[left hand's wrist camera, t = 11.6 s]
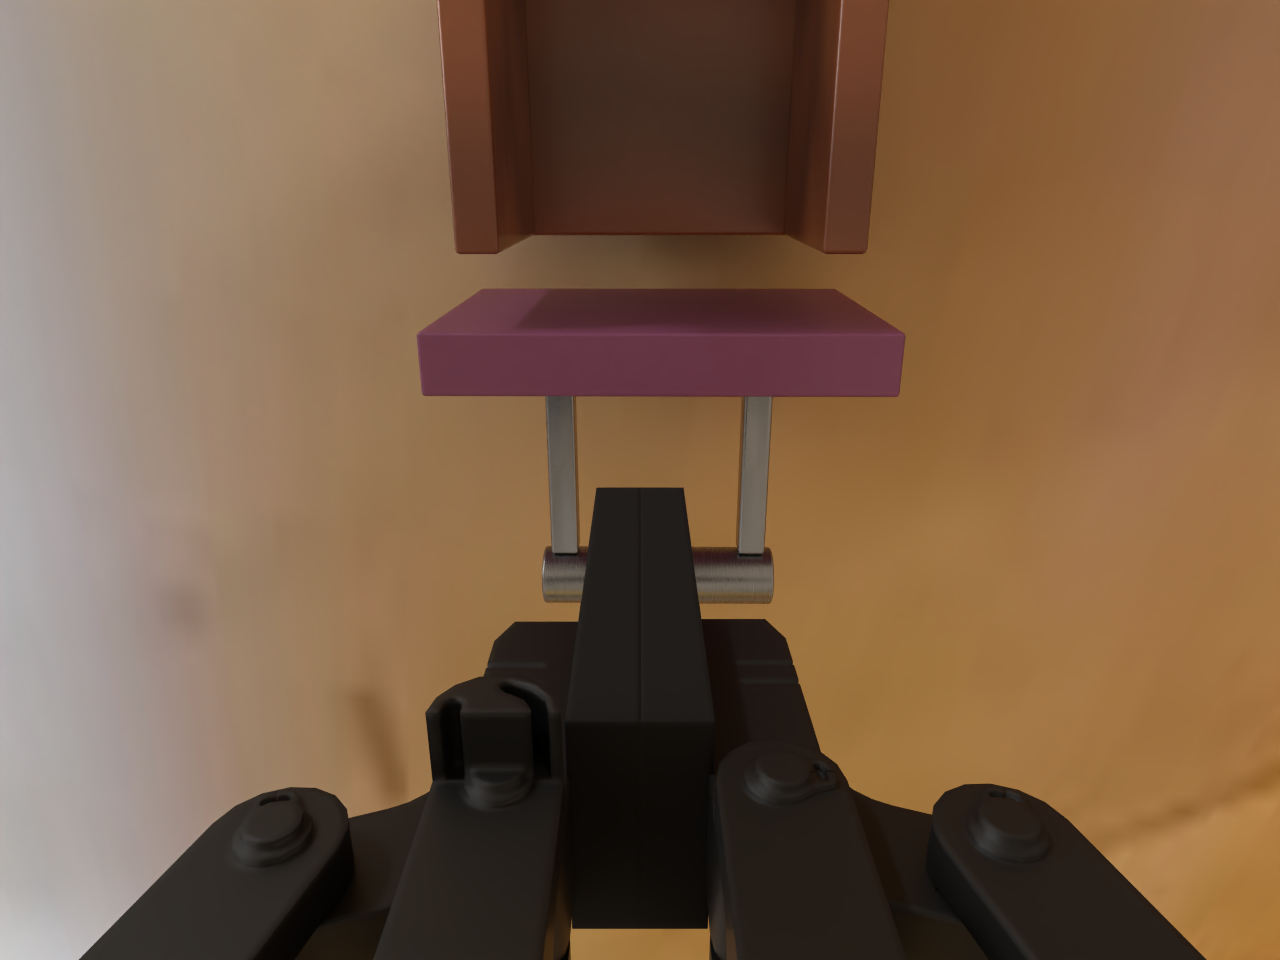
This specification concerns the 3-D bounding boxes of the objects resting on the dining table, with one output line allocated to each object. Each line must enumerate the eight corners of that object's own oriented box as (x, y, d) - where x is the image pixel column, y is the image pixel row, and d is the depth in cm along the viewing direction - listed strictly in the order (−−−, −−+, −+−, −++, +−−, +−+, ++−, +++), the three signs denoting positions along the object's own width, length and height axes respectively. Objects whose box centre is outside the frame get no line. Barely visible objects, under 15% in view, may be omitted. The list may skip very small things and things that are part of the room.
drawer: (817, 532, 23) (872, 652, 18) (497, 530, 24) (444, 649, 18) (908, -644, 15) (1065, -1149, 10) (421, -637, 16) (279, -1129, 10)
